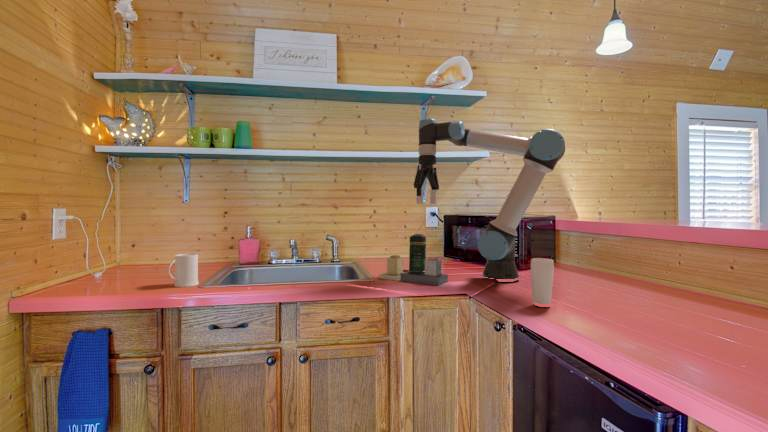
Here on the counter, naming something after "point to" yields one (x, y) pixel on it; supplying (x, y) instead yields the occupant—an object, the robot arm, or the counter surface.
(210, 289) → the counter surface
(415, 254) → the coffee jar
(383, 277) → the tray
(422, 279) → the dark grey flat block
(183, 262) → the mug
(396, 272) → the tan rectangular block
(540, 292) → the drinking glass
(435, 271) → the steel plug
